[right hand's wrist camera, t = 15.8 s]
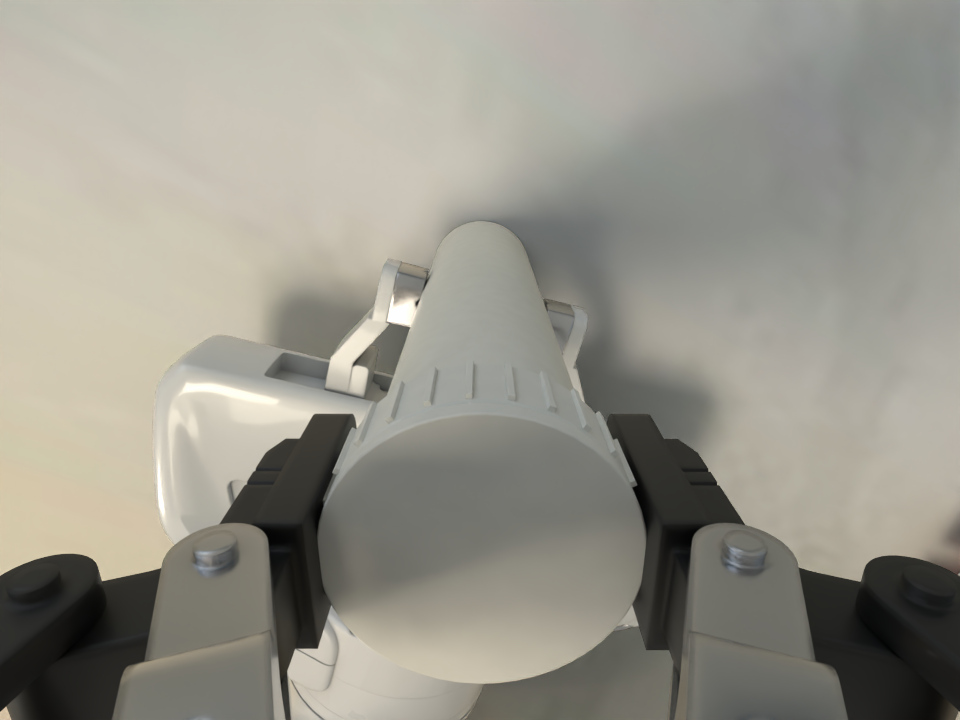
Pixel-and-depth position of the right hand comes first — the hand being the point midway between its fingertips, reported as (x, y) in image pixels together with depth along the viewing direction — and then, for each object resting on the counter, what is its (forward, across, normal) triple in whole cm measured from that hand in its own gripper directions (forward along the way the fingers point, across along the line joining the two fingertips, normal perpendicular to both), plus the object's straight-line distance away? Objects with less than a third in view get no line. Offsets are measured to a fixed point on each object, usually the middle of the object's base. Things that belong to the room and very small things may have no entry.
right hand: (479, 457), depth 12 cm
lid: (-3, 0, 0) cm, 3 cm away
